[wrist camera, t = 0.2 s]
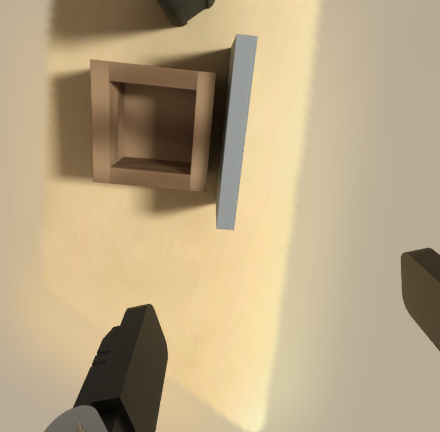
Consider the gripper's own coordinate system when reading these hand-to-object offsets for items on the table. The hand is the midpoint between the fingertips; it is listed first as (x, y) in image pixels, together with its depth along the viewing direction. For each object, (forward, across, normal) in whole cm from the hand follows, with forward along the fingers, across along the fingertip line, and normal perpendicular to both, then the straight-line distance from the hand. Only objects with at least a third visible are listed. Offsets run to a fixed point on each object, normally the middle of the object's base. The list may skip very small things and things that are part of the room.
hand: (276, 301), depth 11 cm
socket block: (+29, +7, -4) cm, 30 cm away
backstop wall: (+29, 0, -2) cm, 29 cm away
